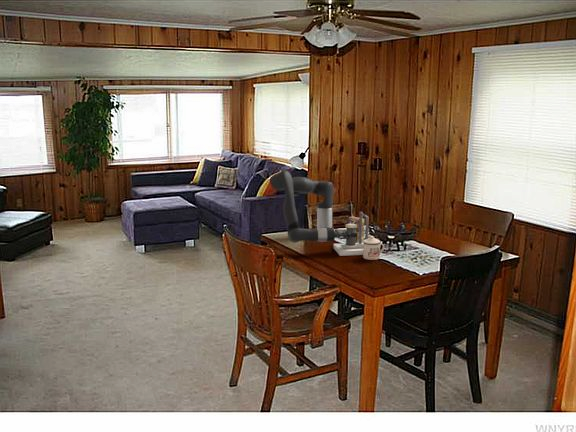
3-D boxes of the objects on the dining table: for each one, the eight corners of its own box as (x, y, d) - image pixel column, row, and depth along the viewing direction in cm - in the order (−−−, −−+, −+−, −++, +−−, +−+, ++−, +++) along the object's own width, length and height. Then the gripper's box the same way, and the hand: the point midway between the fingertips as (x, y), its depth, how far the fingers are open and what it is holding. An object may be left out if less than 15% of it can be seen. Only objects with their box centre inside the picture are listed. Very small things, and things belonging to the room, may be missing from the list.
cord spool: (343, 244, 313) (344, 223, 310) (354, 244, 314) (355, 223, 311) (346, 247, 307) (346, 226, 304) (357, 247, 307) (358, 226, 305)
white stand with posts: (333, 248, 318) (333, 212, 313) (368, 246, 320) (368, 211, 316) (339, 255, 302) (340, 218, 298) (376, 254, 305) (377, 216, 300)
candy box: (364, 244, 325) (364, 218, 322) (359, 245, 323) (359, 219, 319) (353, 241, 332) (353, 216, 329) (348, 242, 329) (348, 217, 326)
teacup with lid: (368, 261, 292) (368, 239, 290) (359, 256, 300) (360, 235, 298) (388, 258, 296) (388, 237, 294) (379, 254, 305) (379, 233, 302)
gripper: (328, 230, 299) (359, 229, 301) (322, 225, 313) (352, 224, 315) (327, 244, 301) (358, 243, 303) (322, 238, 315) (352, 237, 317)
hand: (355, 233), depth 309 cm, fingers closed on cord spool, 5 cm apart
